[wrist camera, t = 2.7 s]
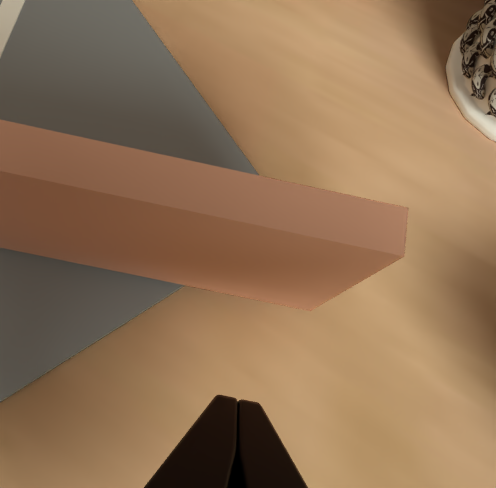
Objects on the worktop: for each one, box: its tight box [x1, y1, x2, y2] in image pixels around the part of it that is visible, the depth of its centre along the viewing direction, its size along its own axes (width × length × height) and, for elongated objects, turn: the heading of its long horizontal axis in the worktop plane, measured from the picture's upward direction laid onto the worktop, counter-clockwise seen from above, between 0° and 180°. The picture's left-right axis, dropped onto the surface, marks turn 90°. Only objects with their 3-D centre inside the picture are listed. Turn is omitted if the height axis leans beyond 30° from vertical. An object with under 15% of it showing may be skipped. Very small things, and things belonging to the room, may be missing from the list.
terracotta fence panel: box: [0, 120, 408, 311], centre depth 14 cm, size 16×1×9 cm, turn 79°
